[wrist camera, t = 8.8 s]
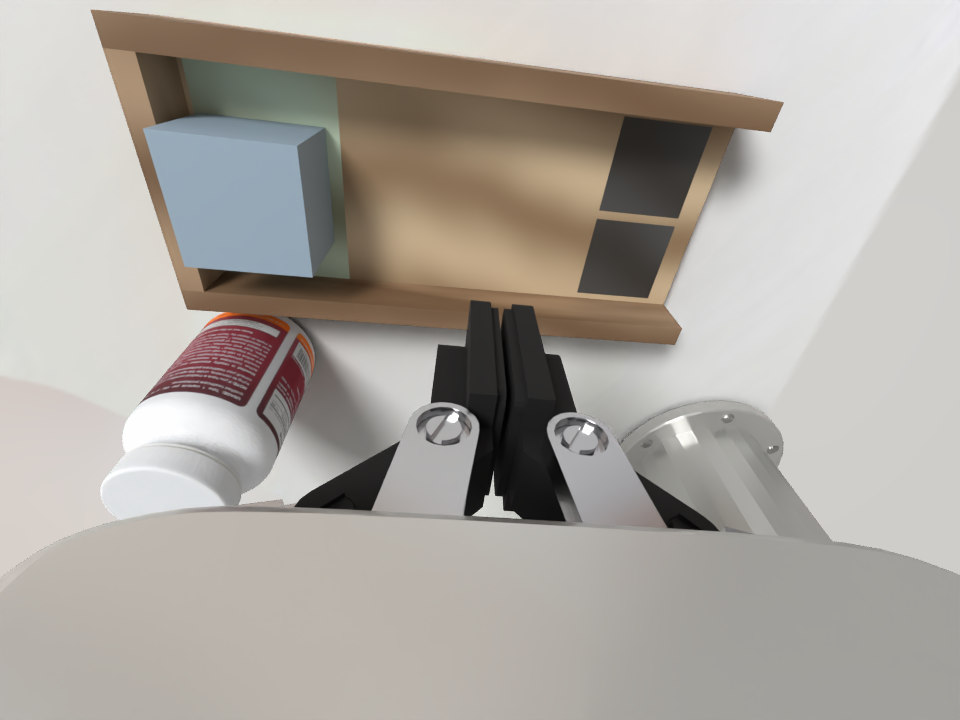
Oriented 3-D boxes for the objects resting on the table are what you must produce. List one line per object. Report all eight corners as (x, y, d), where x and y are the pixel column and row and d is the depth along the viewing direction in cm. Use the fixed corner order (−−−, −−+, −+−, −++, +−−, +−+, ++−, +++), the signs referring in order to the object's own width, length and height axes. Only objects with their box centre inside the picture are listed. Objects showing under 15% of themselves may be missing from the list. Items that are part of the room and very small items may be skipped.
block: (334, 241, 21) (312, 277, 18) (226, 231, 21) (184, 266, 18) (324, 127, 18) (296, 146, 15) (199, 112, 18) (142, 128, 15)
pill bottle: (186, 342, 26) (41, 503, 17) (249, 280, 23) (123, 427, 15) (276, 402, 29) (194, 566, 20) (339, 353, 26) (280, 511, 18)
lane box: (650, 311, 26) (674, 344, 23) (219, 276, 23) (187, 309, 20) (735, 93, 19) (784, 102, 16) (152, 14, 17) (90, 9, 14)
